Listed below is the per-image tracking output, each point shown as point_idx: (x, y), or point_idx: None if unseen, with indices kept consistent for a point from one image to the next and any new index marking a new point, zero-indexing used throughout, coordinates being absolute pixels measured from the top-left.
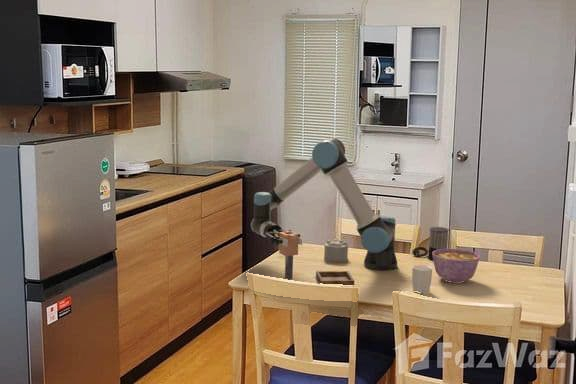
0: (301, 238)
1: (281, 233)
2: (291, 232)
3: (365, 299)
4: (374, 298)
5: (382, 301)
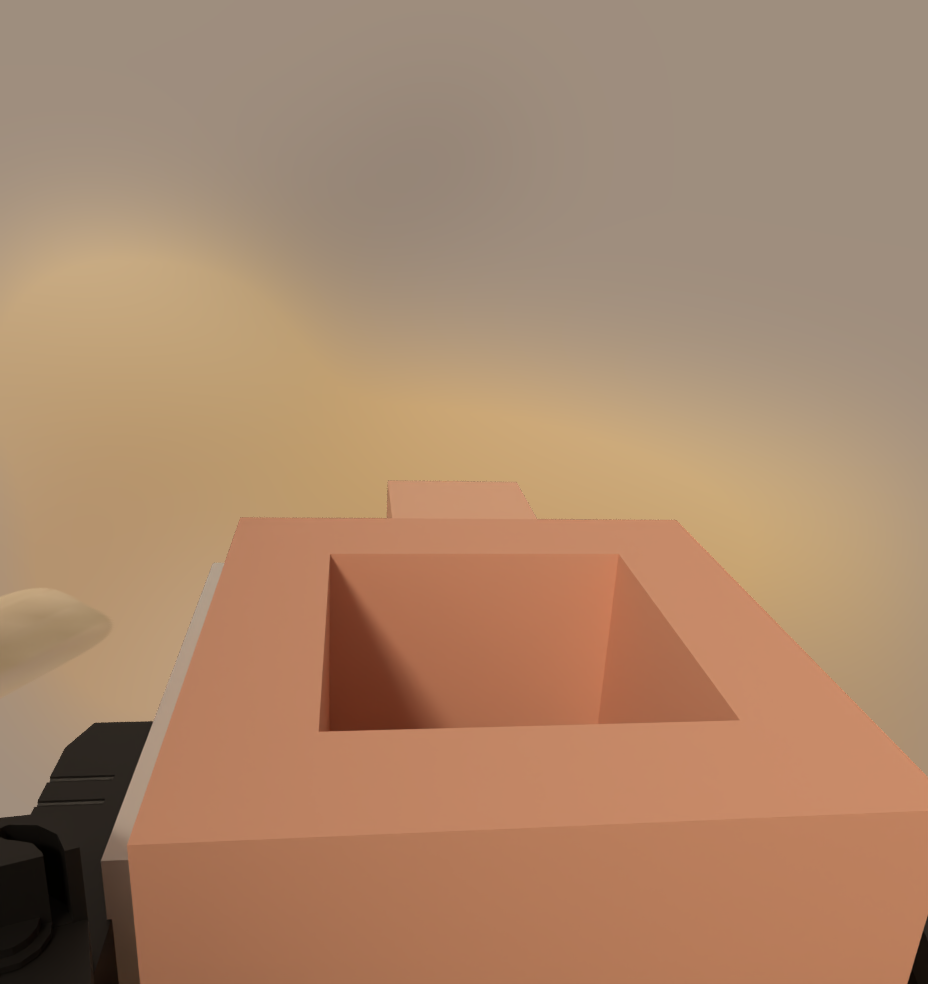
0: (217, 573)
1: (814, 671)
2: (319, 700)
3: (94, 635)
4: (20, 634)
5: (31, 600)
